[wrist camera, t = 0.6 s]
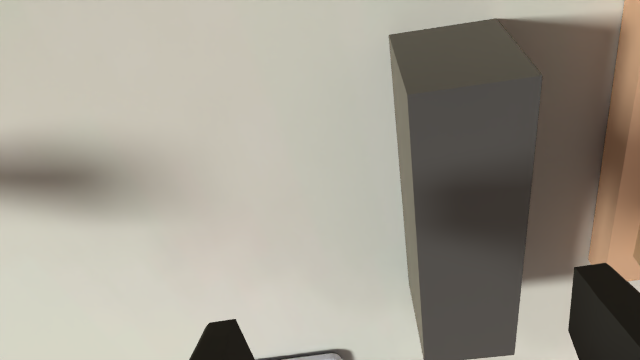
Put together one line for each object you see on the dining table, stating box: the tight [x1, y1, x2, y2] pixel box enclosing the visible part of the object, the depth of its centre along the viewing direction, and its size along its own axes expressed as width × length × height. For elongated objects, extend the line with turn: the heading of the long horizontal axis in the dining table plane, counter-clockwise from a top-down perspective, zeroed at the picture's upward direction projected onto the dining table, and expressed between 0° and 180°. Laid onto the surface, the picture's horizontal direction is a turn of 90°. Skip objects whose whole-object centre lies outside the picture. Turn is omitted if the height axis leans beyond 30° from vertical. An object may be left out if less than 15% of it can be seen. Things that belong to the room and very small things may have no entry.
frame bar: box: [389, 19, 542, 360], centre depth 19 cm, size 12×4×4 cm, turn 9°
